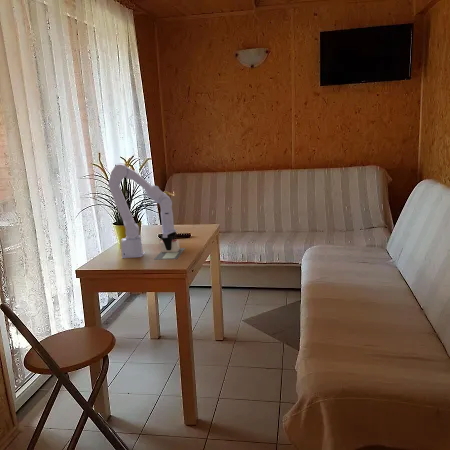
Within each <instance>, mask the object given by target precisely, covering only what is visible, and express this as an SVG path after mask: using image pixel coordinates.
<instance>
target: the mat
mask: <svg viewBox="0 0 450 450" xmlns="http://www.w3.org/2000/svg"><path fill="white" fill-rule="evenodd" d="M185 249H186V247H181V248H180V247H179V251H178V252H161V251H160V252H159V253H158V254H157V255H156V256H155V258H154V259H153V260H154V261H161V260H163V261H164V260H166V261H167V260H177V259H179V257H180V256H181V255H182V253H183V251H185Z"/></svg>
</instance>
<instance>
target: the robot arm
mask: <svg viewBox="0 0 450 450" xmlns="http://www.w3.org/2000/svg"><path fill="white" fill-rule="evenodd" d="M125 177H126V180H132V181H134V182H135V183H136V184H138V185H139V186H140V187H141V188H142V189H144V190H145V192H146V193H145V194H146V195H147V197H149V198H150V199H152V201H153V202H154V203H157V204H158V205H159V207H160V220H161V221H160V222H161V229H162V230H161V232H162V235H161V236H160V239H161V241H162V240H163V242H164V244H165V247H166V250H171V248H172V240H175V238H176V235H177V231H178V230H177V229H176V228H175V225H174V224H175V223H174V212H173V201H172V198H171V197H170V196H169V195H167V194H168V193H165V192H164V191H162V190H161V189H160V187H159V186H158V185H155V184H150V183H148V182H147V181H146V180H145V179H144V178H143V177H142V176H141V175H140V174H138V173H137V172H136V171H135V170H133V169H132V168H131V167H129V166H127V165H126V164H125V163H121V162H120V163H116V164H115V166H114V167H113V169H112V170H111V171H110V176H109V180H108V184H107V185H108V188H109V191H110V193H111V196H112V197H113V198H112V199H113V200H114V202H115V205H116V207H117V210H118V212H119V214H120V217H121V220H122V222H123V226H124V228H125V232H124V234H125V237H124V238H123V237H122V238H121V239H120V249H121V259H129V258H130V259H132V258H141V257H143V256H144V255H145V254H146V251H143V243H142V236H141V234H140V226H139V224H138V223H136V221H135V220H134V218H133V215H132V212H131V211H130V208H129V205H128V203H127V201H126V198H125V196H124V194H123V191H122V188H121V187H120V185H121V183H122V181H123V180H124V178H125Z"/></svg>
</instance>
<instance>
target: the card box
mask: <svg viewBox="0 0 450 450" xmlns="http://www.w3.org/2000/svg"><path fill="white" fill-rule="evenodd" d="M179 239H180V238H179ZM179 239H175V240H172V248H171V250H166V247H165V244H164V242H163V240H162V239H161V241H160V243H159V245H160V252H178V251H179V248H180V241H179Z"/></svg>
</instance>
